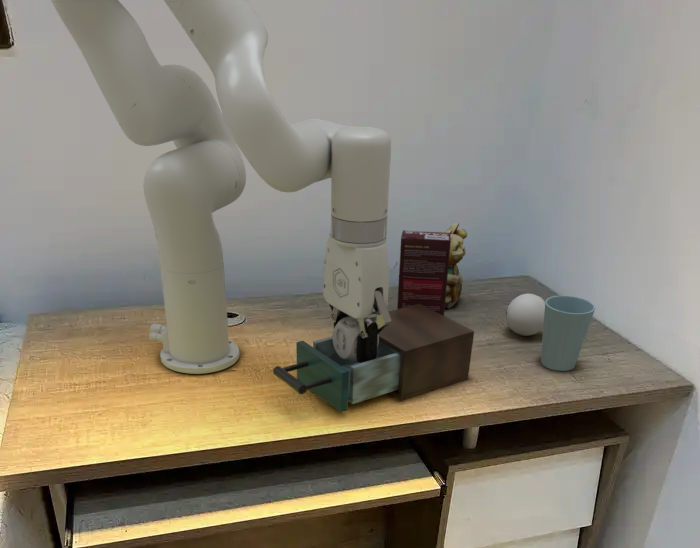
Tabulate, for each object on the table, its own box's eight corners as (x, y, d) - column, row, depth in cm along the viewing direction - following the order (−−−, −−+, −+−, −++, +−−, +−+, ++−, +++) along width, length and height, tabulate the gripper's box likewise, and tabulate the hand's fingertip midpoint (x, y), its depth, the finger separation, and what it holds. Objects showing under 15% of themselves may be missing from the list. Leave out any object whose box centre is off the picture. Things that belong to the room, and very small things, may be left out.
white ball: (553, 339, 130) (561, 299, 126) (518, 345, 128) (525, 305, 123) (520, 318, 138) (527, 280, 134) (487, 323, 135) (492, 285, 131)
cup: (590, 364, 122) (604, 304, 116) (566, 379, 117) (579, 317, 112) (551, 350, 126) (562, 291, 121) (525, 363, 122) (536, 303, 116)
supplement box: (442, 317, 137) (451, 231, 128) (442, 328, 133) (452, 240, 124) (396, 314, 137) (402, 229, 128) (394, 325, 133) (400, 237, 124)
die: (378, 356, 108) (380, 324, 105) (350, 364, 106) (351, 332, 103) (359, 344, 112) (360, 313, 109) (331, 351, 109) (332, 320, 106)
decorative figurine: (453, 313, 138) (462, 233, 130) (411, 306, 141) (417, 227, 132) (465, 296, 146) (474, 220, 138) (425, 290, 148) (432, 214, 140)
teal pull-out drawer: (308, 423, 102) (308, 382, 98) (265, 389, 110) (263, 350, 106) (409, 390, 111) (412, 352, 107) (362, 361, 119) (364, 324, 115)
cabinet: (401, 400, 110) (404, 351, 105) (350, 367, 118) (351, 320, 114) (468, 378, 116) (474, 331, 112) (415, 348, 125) (419, 303, 121)
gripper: (301, 217, 102) (302, 338, 112) (374, 250, 91) (368, 381, 101) (345, 209, 106) (342, 327, 116) (421, 241, 95) (410, 368, 105)
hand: (354, 351), depth 108 cm, fingers closed on die, 5 cm apart
